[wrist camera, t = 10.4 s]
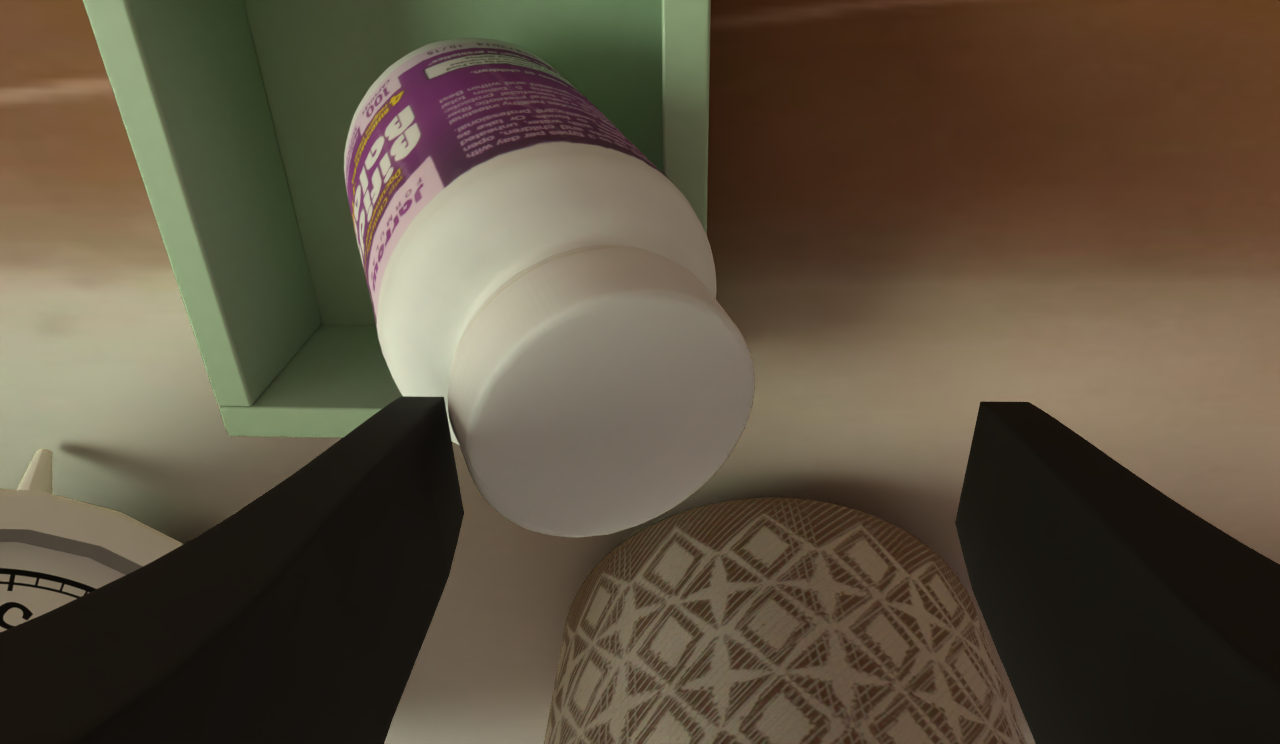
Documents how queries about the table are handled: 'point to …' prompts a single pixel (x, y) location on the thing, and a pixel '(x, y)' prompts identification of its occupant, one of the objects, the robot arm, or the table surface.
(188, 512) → the table surface
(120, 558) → the alarm clock
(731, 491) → the table surface
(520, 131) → the pill bottle
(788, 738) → the planter
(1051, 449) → the robot arm
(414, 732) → the table surface
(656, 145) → the bin
